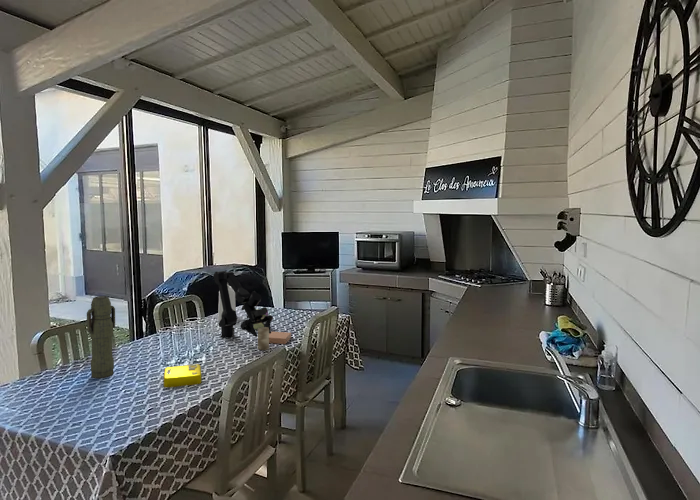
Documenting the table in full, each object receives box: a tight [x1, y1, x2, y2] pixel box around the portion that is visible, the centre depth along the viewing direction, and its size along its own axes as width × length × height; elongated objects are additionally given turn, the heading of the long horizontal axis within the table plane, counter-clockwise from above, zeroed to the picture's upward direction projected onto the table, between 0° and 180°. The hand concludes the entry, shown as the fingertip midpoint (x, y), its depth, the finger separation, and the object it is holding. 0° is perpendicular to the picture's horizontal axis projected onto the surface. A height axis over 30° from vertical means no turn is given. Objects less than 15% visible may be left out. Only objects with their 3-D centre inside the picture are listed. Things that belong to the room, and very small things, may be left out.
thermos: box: [86, 295, 116, 380], centre depth 193 cm, size 9×12×35 cm
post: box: [257, 327, 270, 351], centre depth 238 cm, size 6×6×11 cm
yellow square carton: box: [163, 363, 202, 389], centre depth 191 cm, size 15×15×5 cm
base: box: [269, 331, 292, 345], centre depth 255 cm, size 13×13×3 cm
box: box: [253, 308, 269, 330], centre depth 280 cm, size 10×6×12 cm, turn 84°
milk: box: [217, 283, 237, 322], centre depth 304 cm, size 12×12×26 cm
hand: (263, 334), depth 237 cm, fingers open, 9 cm apart
